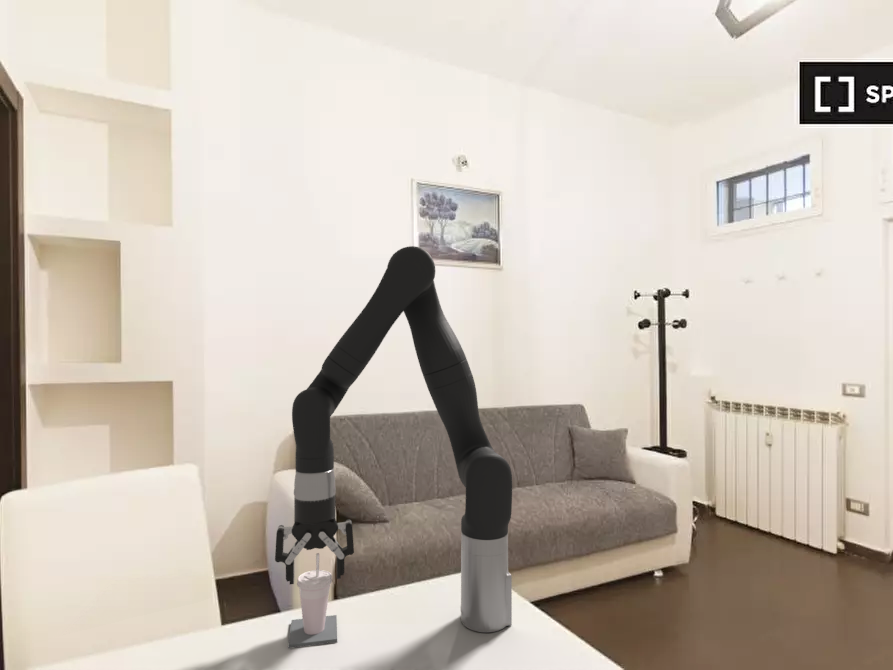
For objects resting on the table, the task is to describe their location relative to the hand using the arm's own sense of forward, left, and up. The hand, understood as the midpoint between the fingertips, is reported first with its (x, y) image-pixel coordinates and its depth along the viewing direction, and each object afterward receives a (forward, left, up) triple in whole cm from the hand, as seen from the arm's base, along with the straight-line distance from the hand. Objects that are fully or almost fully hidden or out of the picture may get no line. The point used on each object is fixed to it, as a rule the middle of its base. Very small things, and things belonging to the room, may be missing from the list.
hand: (315, 579), depth 96 cm
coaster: (0, 0, -10) cm, 10 cm away
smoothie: (0, 0, -9) cm, 9 cm away
